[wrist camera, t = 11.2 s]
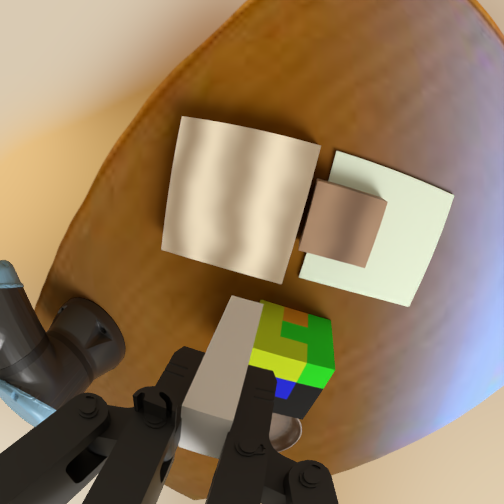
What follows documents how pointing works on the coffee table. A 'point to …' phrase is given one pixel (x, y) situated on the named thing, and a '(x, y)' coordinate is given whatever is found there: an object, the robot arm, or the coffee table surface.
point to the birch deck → (237, 196)
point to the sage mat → (386, 233)
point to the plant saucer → (284, 431)
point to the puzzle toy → (294, 356)
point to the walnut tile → (342, 223)
